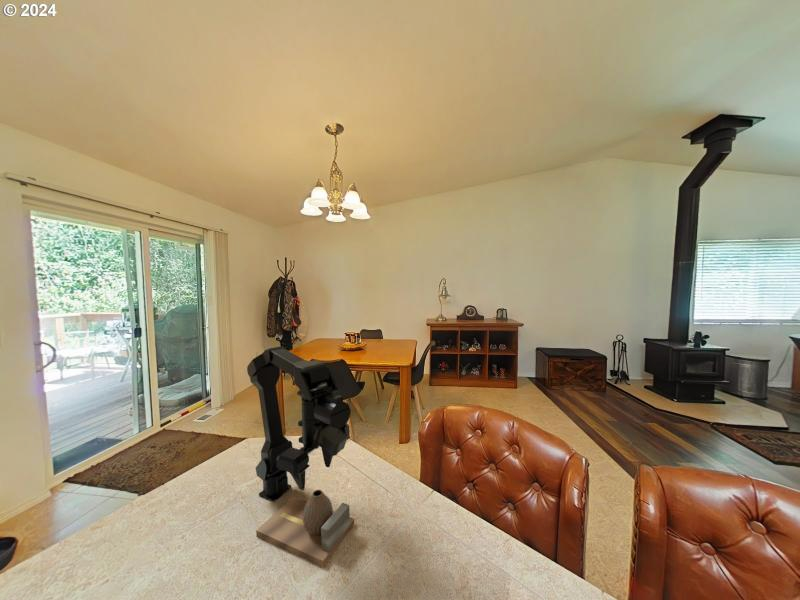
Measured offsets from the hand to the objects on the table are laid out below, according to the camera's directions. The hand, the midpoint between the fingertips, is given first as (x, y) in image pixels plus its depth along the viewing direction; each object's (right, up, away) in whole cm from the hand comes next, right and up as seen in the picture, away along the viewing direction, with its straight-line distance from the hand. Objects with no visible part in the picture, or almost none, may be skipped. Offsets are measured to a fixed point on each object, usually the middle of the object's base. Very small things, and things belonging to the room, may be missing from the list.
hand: (315, 477), depth 70 cm
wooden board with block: (-2, -13, 0) cm, 13 cm away
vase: (+1, -11, -2) cm, 12 cm away
